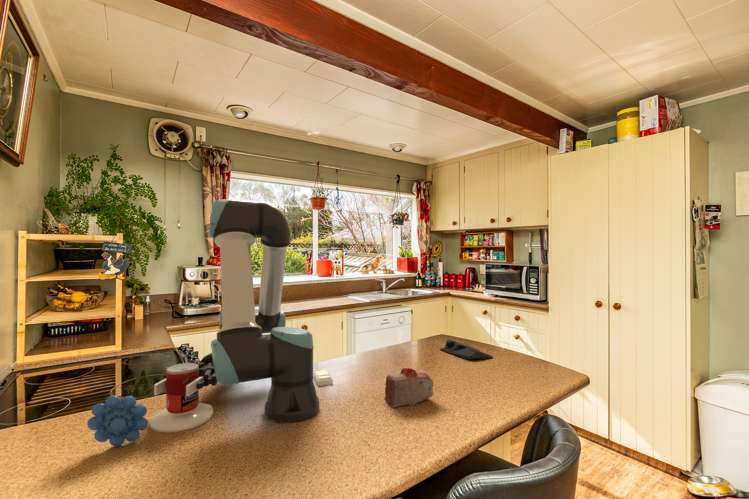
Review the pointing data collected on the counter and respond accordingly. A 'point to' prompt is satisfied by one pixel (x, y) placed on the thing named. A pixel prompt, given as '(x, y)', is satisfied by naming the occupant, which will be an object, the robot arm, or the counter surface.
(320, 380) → the soap bar
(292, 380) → the robot arm
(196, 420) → the plate
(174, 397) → the canned food
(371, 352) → the counter surface
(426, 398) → the food item
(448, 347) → the dark slate chunk
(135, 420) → the grapes
